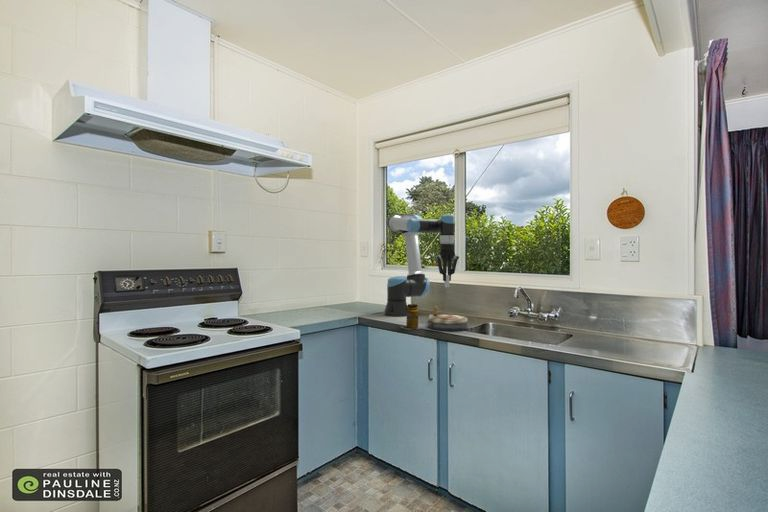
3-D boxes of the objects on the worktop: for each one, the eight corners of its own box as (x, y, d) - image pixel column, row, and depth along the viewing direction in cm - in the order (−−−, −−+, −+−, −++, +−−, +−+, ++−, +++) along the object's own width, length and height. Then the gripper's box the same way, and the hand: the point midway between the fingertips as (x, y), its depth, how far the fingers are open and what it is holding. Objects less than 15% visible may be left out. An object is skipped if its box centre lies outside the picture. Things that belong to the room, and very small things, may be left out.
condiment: (421, 328, 202) (421, 304, 202) (408, 330, 197) (408, 306, 197) (413, 325, 208) (413, 303, 208) (399, 327, 203) (400, 304, 203)
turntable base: (421, 323, 213) (422, 314, 213) (458, 322, 218) (458, 313, 218) (435, 332, 193) (436, 321, 192) (475, 330, 197) (475, 320, 197)
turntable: (425, 322, 199) (425, 310, 198) (432, 316, 218) (432, 304, 218) (465, 325, 193) (465, 312, 192) (469, 318, 212) (469, 306, 212)
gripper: (438, 243, 207) (437, 288, 208) (461, 243, 210) (461, 287, 211) (433, 243, 215) (432, 286, 215) (456, 243, 218) (455, 286, 218)
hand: (446, 287), depth 213 cm, fingers closed
